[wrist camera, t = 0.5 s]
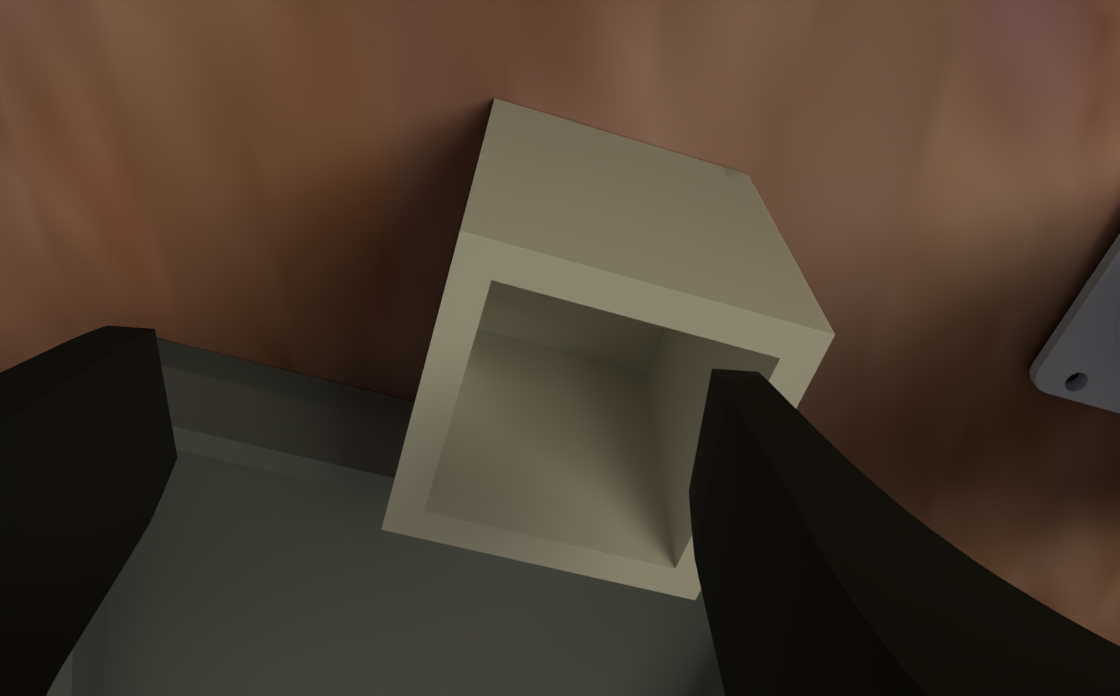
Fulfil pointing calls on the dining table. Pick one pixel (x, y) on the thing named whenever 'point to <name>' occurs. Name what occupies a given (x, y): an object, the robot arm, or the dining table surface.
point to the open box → (593, 350)
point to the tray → (347, 572)
